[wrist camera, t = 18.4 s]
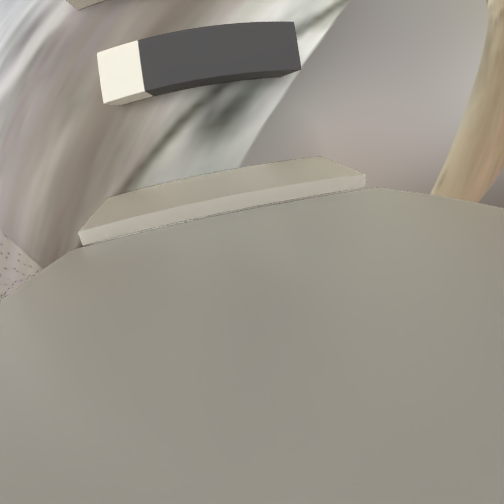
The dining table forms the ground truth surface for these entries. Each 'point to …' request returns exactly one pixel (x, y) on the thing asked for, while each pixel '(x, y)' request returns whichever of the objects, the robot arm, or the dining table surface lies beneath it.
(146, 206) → the strip
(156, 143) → the dining table surface
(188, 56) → the dark gray block
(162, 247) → the plate
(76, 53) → the dining table surface
